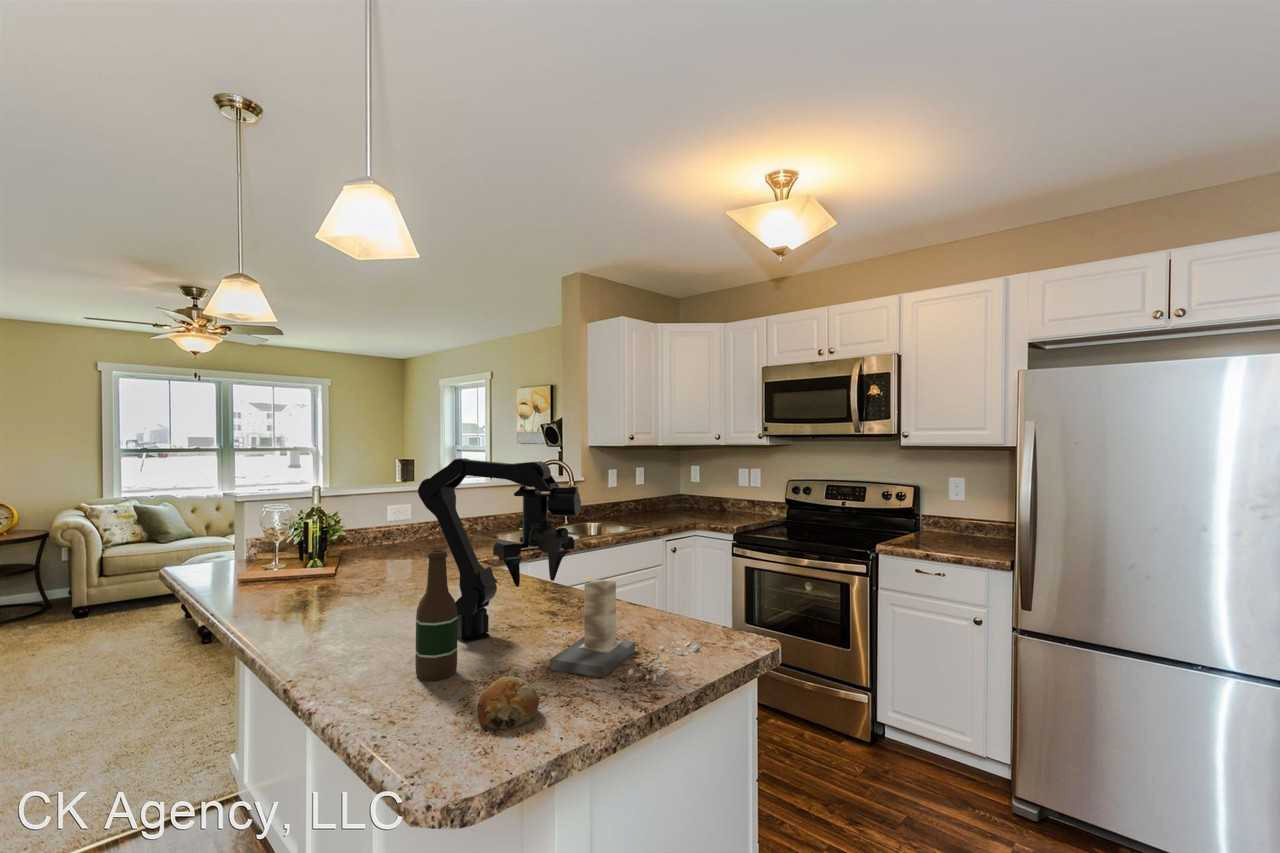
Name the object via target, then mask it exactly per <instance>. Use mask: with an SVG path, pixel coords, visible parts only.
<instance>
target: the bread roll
mask: <svg viewBox="0 0 1280 853" xmlns="http://www.w3.org/2000/svg"><path fill="white" fill-rule="evenodd" d="M539 706H540V697H539V694H538V693H537V690H536V689H535V688H534V687H533V685H532V684H531V683H529V681H527V680H525V679H524V678H522V677H519V676H518V677H517V676H500V677H499V678H498V679H497V680H495V681H493V682H492V683H491V684H490V685H489V686H488V687H487V688H486V689H484V690H483V691H482V692H481V695H480V696H479V698H478V702H477V709H476V710H477V711H476V712H477V713H476V714H477V715H476V716H477V720H478V721H479V722H480V724H481V725H482V726H483V727H485V728H490V729H495V730H506V729H512V728H517V727H520V726H522V725H525V724H527V723H529V722H531V721H532V720H533V719H534V718H536V716H537V714H538V710H539Z"/></svg>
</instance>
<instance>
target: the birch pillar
mask: <svg viewBox="0 0 1280 853" xmlns="http://www.w3.org/2000/svg"><path fill="white" fill-rule="evenodd" d="M616 586H617V581H613V580H603V579H593V580H591V581H588V582H587V583H585V584H584V586H583V587H584V588H583V589H584V598H583V599H584V602H583V603H584V610H583V611H584V615H583V616H584V632H583V633H584V635H583V637H584V646H585V647H592V648H599V649H607V648H608V647H610V646H611V645H613V644H614V643H615V642H616V639H617V629H616V628H617V615H616V614H617V608H616V607H617V605H616V604H617V601H616V600H617V592H616V591H617V587H616Z"/></svg>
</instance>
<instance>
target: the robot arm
mask: <svg viewBox="0 0 1280 853" xmlns="http://www.w3.org/2000/svg"><path fill="white" fill-rule="evenodd" d="M467 476H468V477H469V476H471V477H481V478H488V479H489V478H491V479H500V480H507V481H510V482H513V483H515V484H518V485H521V486H520V487H519V488H518V490H516V492H514V493H513V496H514V497H522V519H519V525H522V537H519V542H520V543H519V542H514V541H511V540H508V541H507V540H506V541H500V542H499V541H498V542H495V544H494V545H493V548H492V550H493V551H492V555H493V556H496V557H498V559H500V560H502V561H503V562H504V564H505V566H506V567H507V570H508V571H509V574H510V577H511V578H512V579H511V580H512V581H513V584H514V586H515V587H517V588H519V587H520V584H521V583H520V582H521V577H520V576H521V574H520V570H521V569H520V563H521V561H522V559H523V557H519V556H520V555H521V553H523V552H531V551H537V550H538V551H539V550H540V552H543V553H547V558H548V559H547V560H548V572H549V574H548V575H549V580H550V581H552V582H553V581H555V579H556V577H557V576H556V575H557V573H558V571H559V568H560V565H561V563H562V561H563V558H564V557H565V556H566V555H567V554H570V553H571V550H575V549H576V540H575V539H574V537H573V536H570V535H569V530H568V528H567V527H558V528H557V529H556V528H555V529H553V526H552V520H550V519H549V513H551V514H552V516H554V517H579V516H580V513H581V509H582V508H581V507H582V500H581V497H580V492H579V487H578V486H575V485H573V486H566V487H565V486H560V485H559V484H558V483H557V481H556V480H555V479H554V477H553V475H552V471H551V468H550V467H549V466H548V464H547V463H546V462H544V461H542V460H541V461H527V462H515V463H511V462H509V463H508V462H507V463H506V462H497V461H496V462H495V461H488V460H477V459H475V460H474V459H469V458H465V457H464V458H462V457H461V458H455V459H453V460H452V461H451V462H450V463H449V464H448V465H446V466H445V467H443V468H442V469H440V470H439V471H437V472H436V473H434V474H433V475H432V476H431V477H430V478H425V479H423V480H422V481H421V483H420V484H419V487H418V489H417V494H418V497H419V498H420V500H421V502H422V504H423V505H424V507H425V508H426V509H427V510H428V511H429V512H430V513H431V514H432V515H434V516H435V518H436V519H437V522H438V524H439V527H440V529H441V532H442V534H443V536H444V539H445V541H446V543H447V546H448V548H449V550H450V552H451V555H452V558H453V560H454V562H455V564H456V567H457V570H458V572H459V584H458V586H459V590H460V594H461V596H460V597H459V598H458V599H457V600H455V603H456V606H457V616H458V620H457V640H459V641H461V642H462V643H468V642H472V641H477V640H481V639H486V638H490V637H491V635H490V633H489V623H490V622H489V621H490V620H489V618H490V617H489V616H490V615H489V614H488V609H487V608H486V607H489V605H490V601H491V600H492V599H494V597H495V596H496V593H497V591H498V587H497V584H496V583H498V580H497V579H496V578H495V576H494V573H493V569H492V567H491V566H487V567H486V568H484V567H483V566H482V565H481V564H480V562H479V560H478V558H477V555H476V553H475V551H474V548H473V546H472V543H471V542H470V539H469V537H468V535H467V532H466V530H465V527H464V525H463V523H462V521H461V518H460V516H459V514H458V512H457V508H456V505H457V495H456V492H455V489H457V487H458V486H460V484H461V483H462V482H463V480H464V479H465V478H466V477H467ZM529 487H530V488H529Z"/></svg>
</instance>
